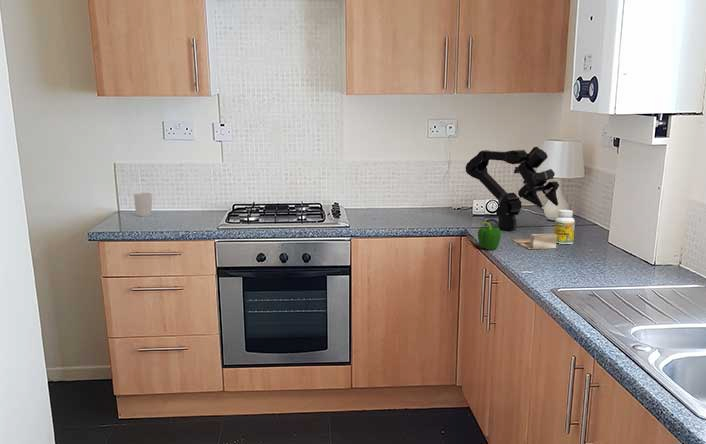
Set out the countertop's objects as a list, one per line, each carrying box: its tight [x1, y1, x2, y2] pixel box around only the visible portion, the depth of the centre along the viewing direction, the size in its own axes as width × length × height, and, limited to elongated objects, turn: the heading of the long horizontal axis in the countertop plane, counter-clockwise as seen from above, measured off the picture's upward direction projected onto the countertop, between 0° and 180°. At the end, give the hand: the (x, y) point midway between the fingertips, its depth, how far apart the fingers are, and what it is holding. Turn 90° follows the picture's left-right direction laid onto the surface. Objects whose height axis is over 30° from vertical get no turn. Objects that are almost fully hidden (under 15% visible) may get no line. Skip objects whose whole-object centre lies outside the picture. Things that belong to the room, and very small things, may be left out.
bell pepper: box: [477, 221, 502, 251], centre depth 227 cm, size 8×8×10 cm
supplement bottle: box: [553, 209, 576, 245], centre depth 236 cm, size 7×7×13 cm
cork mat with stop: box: [511, 233, 557, 250], centre depth 234 cm, size 16×12×5 cm
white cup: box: [133, 192, 153, 217], centre depth 286 cm, size 8×8×10 cm
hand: (549, 206), depth 241 cm, fingers open, 9 cm apart
